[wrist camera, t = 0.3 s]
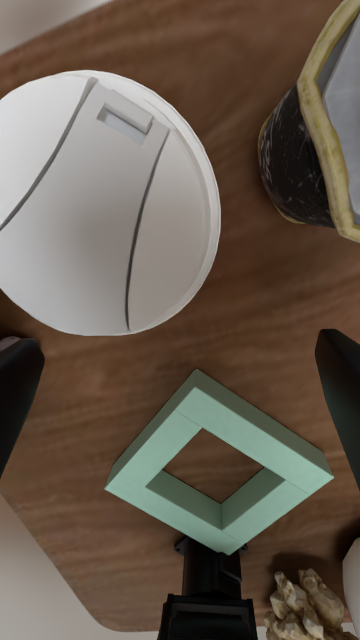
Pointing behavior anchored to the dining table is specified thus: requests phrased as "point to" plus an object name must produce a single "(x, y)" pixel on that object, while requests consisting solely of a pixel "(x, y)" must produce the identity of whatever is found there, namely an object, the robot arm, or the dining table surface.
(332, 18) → the lantern
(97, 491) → the dining table surface
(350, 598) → the white vase
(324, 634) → the mineral formation
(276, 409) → the dining table surface
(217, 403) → the pad socket
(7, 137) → the coffee cup
